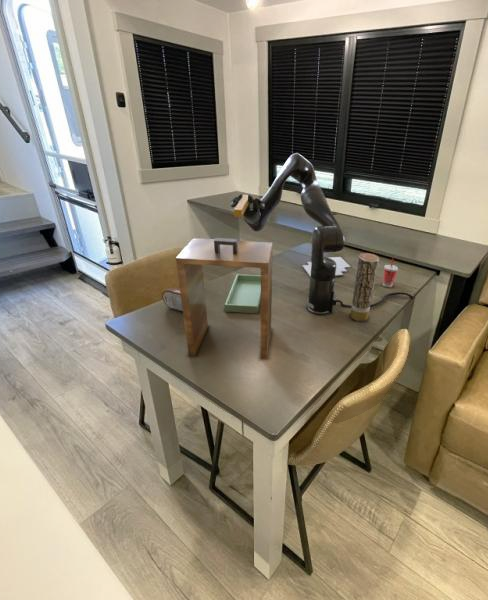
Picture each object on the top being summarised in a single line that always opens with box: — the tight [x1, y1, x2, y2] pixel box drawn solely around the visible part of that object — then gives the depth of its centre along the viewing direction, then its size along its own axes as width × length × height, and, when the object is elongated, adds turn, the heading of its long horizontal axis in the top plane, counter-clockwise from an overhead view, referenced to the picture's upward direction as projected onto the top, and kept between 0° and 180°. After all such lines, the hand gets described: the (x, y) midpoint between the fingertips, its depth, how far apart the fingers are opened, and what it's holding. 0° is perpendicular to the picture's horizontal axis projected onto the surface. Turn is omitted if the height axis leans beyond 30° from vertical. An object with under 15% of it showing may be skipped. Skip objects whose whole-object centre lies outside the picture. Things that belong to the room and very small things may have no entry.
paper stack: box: [302, 256, 351, 277], centre depth 167 cm, size 23×25×1 cm
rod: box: [233, 194, 249, 218], centre depth 115 cm, size 2×22×2 cm, turn 1°
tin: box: [161, 286, 183, 313], centre depth 121 cm, size 15×3×8 cm, turn 71°
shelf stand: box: [175, 237, 274, 360], centre depth 100 cm, size 24×16×36 cm, turn 91°
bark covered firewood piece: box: [349, 252, 380, 322], centre depth 121 cm, size 7×7×25 cm
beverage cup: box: [382, 256, 399, 288], centre depth 150 cm, size 6×6×14 cm
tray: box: [224, 273, 261, 314], centre depth 136 cm, size 27×12×3 cm, turn 1°
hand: (244, 197), depth 120 cm, fingers closed on rod, 2 cm apart
